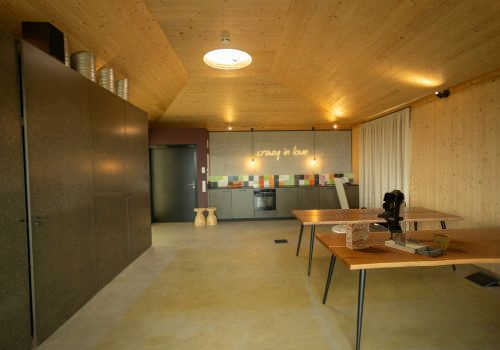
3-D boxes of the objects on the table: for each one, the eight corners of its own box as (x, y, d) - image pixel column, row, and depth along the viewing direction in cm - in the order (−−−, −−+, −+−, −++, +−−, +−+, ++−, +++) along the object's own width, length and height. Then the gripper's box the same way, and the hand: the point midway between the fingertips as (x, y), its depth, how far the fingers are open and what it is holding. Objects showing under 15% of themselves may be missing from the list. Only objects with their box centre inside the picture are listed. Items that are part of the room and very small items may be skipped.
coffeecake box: (352, 250, 188) (351, 223, 188) (345, 247, 195) (345, 221, 195) (369, 248, 192) (369, 222, 192) (362, 245, 199) (362, 220, 199)
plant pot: (442, 251, 183) (442, 237, 183) (429, 247, 193) (429, 234, 193) (454, 250, 185) (454, 236, 185) (440, 246, 195) (440, 233, 195)
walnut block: (392, 241, 200) (392, 233, 200) (397, 240, 202) (397, 232, 202) (400, 243, 194) (400, 235, 194) (405, 241, 197) (405, 234, 197)
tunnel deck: (385, 245, 199) (385, 238, 199) (399, 242, 207) (399, 235, 207) (428, 257, 171) (428, 249, 171) (443, 253, 179) (443, 245, 179)
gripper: (372, 207, 209) (372, 226, 209) (394, 210, 192) (394, 231, 192) (382, 206, 214) (382, 225, 214) (404, 209, 197) (404, 230, 198)
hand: (390, 228), depth 204 cm, fingers closed
